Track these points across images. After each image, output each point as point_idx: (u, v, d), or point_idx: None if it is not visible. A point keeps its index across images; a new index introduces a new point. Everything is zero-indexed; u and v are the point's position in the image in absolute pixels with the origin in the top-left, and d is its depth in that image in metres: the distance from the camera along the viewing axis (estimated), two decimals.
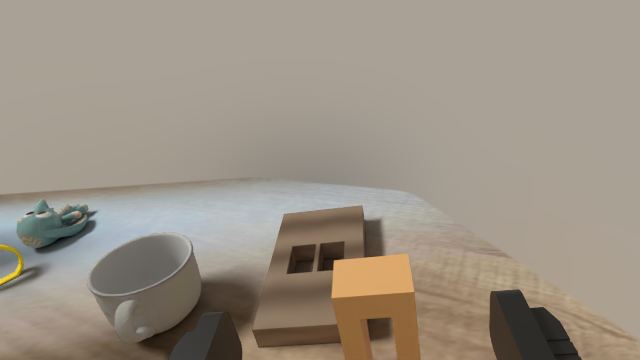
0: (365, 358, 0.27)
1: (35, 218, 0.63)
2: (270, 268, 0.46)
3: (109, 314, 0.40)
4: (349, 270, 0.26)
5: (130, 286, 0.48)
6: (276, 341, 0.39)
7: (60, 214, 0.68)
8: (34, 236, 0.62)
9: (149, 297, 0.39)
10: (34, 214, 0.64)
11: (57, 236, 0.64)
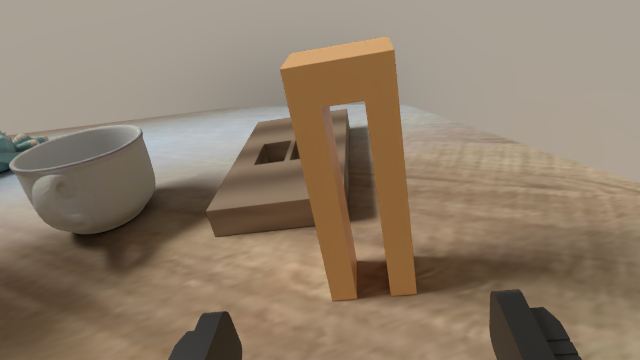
0: (332, 178, 0.20)
1: None
2: (236, 162, 0.39)
3: None
4: (308, 54, 0.19)
5: None
6: (236, 227, 0.32)
7: (15, 142, 0.61)
8: None
9: (82, 175, 0.32)
10: None
11: (8, 161, 0.57)
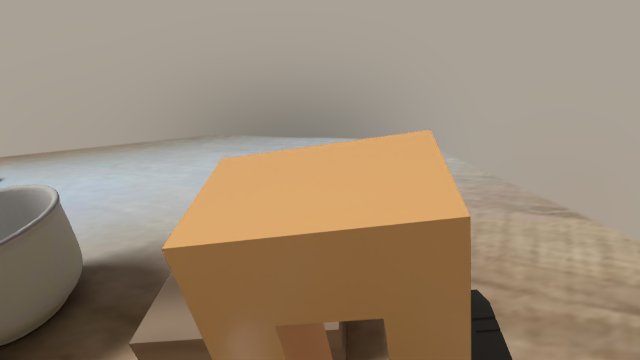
0: None
1: None
2: None
3: None
4: (253, 175, 0.09)
5: None
6: None
7: None
8: None
9: None
10: None
11: None
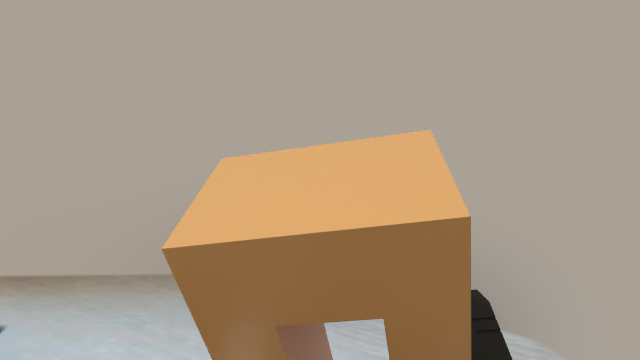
0: None
1: None
2: None
3: None
4: (253, 175, 0.09)
5: None
6: None
7: None
8: None
9: None
10: None
11: None
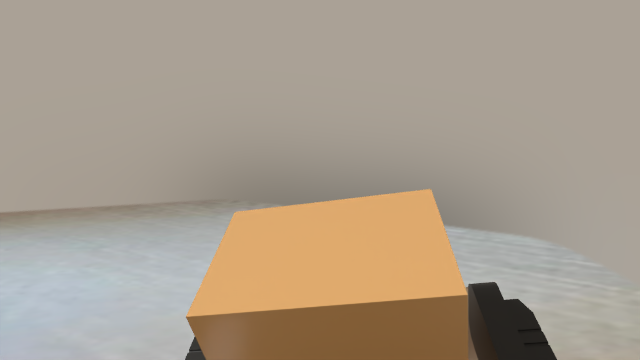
0: None
1: None
2: None
3: None
4: (265, 234, 0.09)
5: None
6: None
7: None
8: None
9: None
10: None
11: None
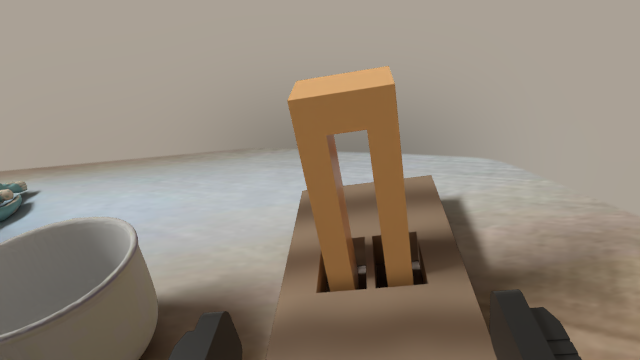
0: (335, 200, 0.21)
1: None
2: (285, 281, 0.25)
3: None
4: (313, 83, 0.21)
5: (31, 314, 0.26)
6: None
7: None
8: None
9: (28, 349, 0.18)
10: None
11: None
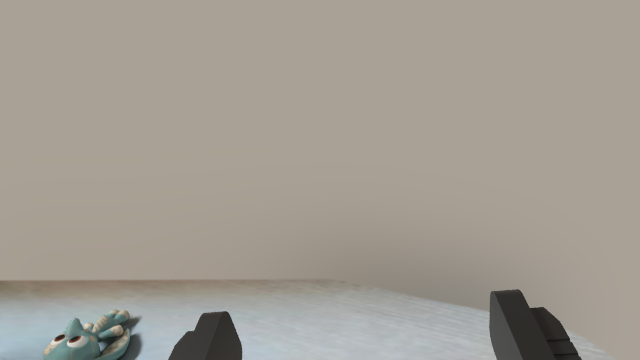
0: None
1: (67, 350, 0.48)
2: None
3: None
4: None
5: None
6: None
7: (96, 331, 0.53)
8: None
9: None
10: (65, 341, 0.49)
11: None
